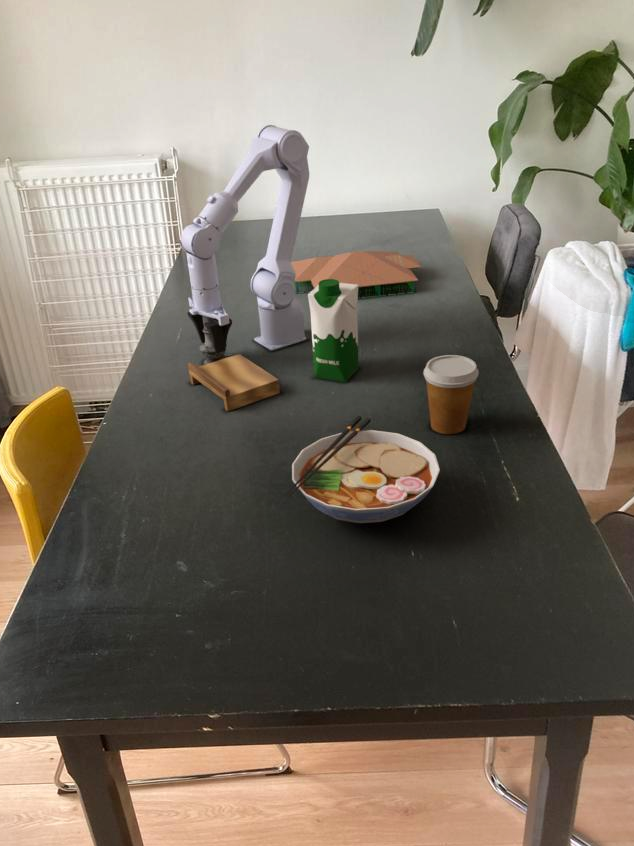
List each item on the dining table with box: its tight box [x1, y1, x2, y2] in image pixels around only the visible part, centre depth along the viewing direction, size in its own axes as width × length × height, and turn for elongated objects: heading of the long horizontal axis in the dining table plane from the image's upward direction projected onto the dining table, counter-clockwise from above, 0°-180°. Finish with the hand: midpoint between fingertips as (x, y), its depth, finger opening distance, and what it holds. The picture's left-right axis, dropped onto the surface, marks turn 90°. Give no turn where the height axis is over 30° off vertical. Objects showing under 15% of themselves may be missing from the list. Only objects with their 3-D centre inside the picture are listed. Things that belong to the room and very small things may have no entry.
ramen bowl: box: [284, 415, 441, 524], centre depth 126 cm, size 25×23×8 cm
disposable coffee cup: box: [423, 354, 480, 435], centre depth 143 cm, size 10×10×12 cm
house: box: [291, 250, 422, 299], centre depth 207 cm, size 23×33×8 cm
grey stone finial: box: [199, 316, 228, 365], centre depth 172 cm, size 6×6×12 cm
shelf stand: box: [187, 353, 281, 412], centre depth 163 cm, size 12×16×4 cm
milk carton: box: [307, 279, 360, 383], centre depth 162 cm, size 9×9×20 cm
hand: (213, 346), depth 174 cm, fingers closed on grey stone finial, 6 cm apart
